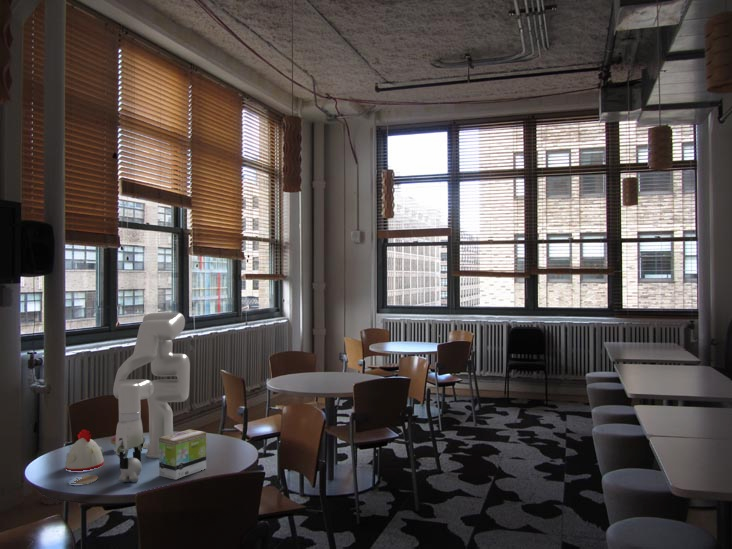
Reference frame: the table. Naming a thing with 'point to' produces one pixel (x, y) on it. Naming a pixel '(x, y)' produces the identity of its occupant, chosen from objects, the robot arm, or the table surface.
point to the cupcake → (114, 441)
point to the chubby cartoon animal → (131, 471)
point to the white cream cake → (84, 454)
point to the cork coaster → (86, 479)
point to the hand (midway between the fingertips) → (130, 465)
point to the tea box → (182, 454)
